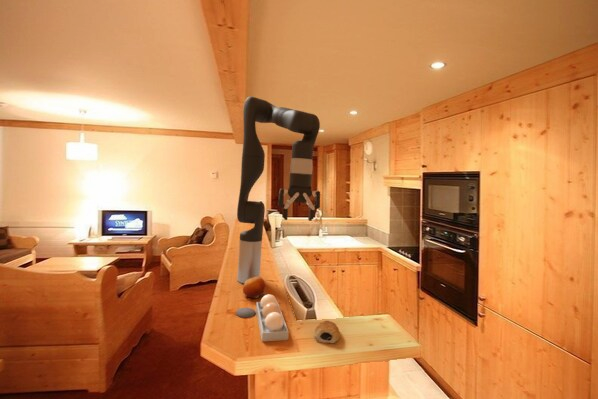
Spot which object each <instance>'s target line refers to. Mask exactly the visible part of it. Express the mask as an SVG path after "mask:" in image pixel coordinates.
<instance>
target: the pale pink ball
mask: <svg viewBox="0 0 598 399" xmlns="http://www.w3.org/2000/svg"><path fill="white" fill-rule="evenodd" d="M279 307H280V306H279ZM279 307H278V305H277V304H275V303H268V304H266V305H265V306H264V308H263V311H262V314H263V317H264V318H266V317H267V315H268V314H270V313H272V312H277V313H279V314H280V309H281V308H280V309H279Z"/></svg>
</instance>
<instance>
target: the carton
mask: <svg viewBox="0 0 598 399" xmlns="http://www.w3.org/2000/svg"><path fill="white" fill-rule="evenodd" d="M260 302H261V301H256V303H255V304H256V306H255V312H256V315H257V322H258V327H259V333H260V338H261V342H274V341H275V342H276V341H288V340H289V333H290V330H289V329H288V326H287V324H286V321H285V317H284V315H283V312H282V309H281V307H280V304H279V301H277V305H278V307H279V309H280V314H281V316H282V317H283V321H284V323H283V327H282V328H281V330H279V331H276V332H270V331H268V330H267V329H266V327H265V318H264V317H263V314H262V311H263V309H262V308H261V305H260Z"/></svg>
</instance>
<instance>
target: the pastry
mask: <svg viewBox="0 0 598 399" xmlns="http://www.w3.org/2000/svg"><path fill="white" fill-rule="evenodd" d="M340 333H341V332H340V329H339V328H338V326H337V324H336V323H335V322H332V321H330V320H324V321H321V322H319V324H317V326H316V328H315V331H314V336H313V337H314V340H315V341H316V342H319V343H325V344H335V343H338V342H339V340H340Z"/></svg>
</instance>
